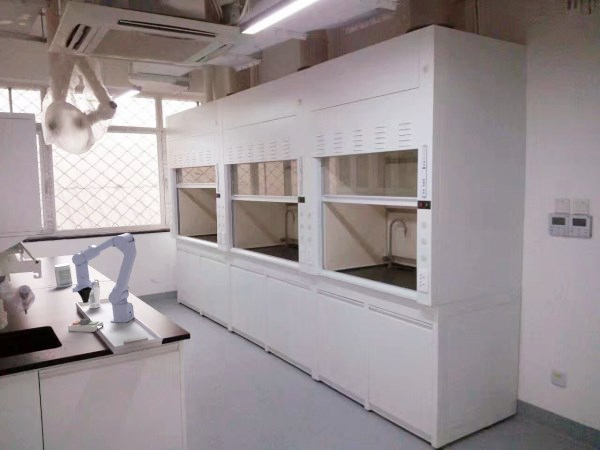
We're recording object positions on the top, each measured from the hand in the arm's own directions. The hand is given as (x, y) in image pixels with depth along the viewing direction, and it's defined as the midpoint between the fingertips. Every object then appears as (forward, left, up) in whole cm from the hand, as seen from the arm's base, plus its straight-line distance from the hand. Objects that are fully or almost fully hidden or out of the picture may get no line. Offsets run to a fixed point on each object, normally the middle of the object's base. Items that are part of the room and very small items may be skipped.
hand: (85, 302), depth 242 cm
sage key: (-13, +12, -9) cm, 19 cm away
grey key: (-8, +12, -7) cm, 16 cm away
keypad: (-8, +12, -9) cm, 17 cm away
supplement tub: (+69, -67, -10) cm, 97 cm away
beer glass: (+12, -22, -10) cm, 27 cm away
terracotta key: (-4, +12, -8) cm, 15 cm away
